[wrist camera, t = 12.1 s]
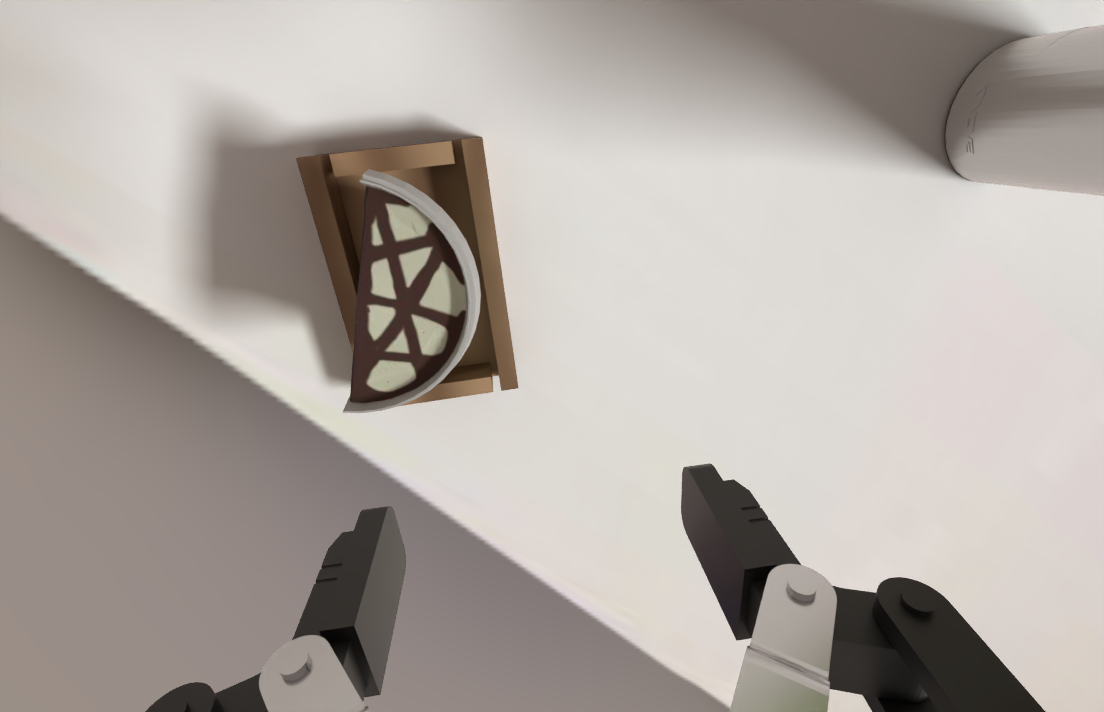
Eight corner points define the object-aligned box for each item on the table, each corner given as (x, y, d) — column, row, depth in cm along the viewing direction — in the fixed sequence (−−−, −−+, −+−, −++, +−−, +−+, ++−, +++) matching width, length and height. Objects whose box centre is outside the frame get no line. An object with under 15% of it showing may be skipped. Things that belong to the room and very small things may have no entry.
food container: (463, 370, 36) (464, 433, 27) (374, 359, 35) (342, 422, 25) (489, 193, 32) (499, 194, 23) (390, 174, 31) (360, 167, 22)
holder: (482, 137, 32) (482, 137, 29) (515, 368, 38) (518, 388, 35) (313, 155, 31) (296, 158, 28) (378, 388, 38) (369, 410, 35)
